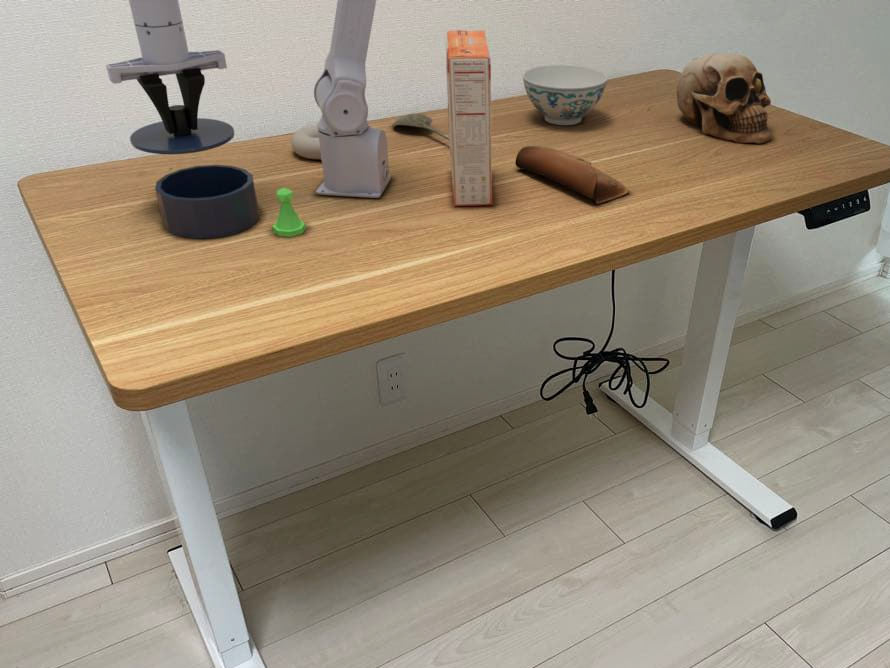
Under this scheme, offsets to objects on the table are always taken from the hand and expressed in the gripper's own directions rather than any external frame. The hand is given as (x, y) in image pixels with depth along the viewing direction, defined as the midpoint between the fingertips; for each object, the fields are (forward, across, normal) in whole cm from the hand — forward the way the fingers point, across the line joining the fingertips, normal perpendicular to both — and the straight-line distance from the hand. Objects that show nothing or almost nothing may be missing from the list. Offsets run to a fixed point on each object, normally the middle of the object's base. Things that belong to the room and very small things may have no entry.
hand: (182, 129), depth 115 cm
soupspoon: (+11, -42, -5) cm, 43 cm away
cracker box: (+11, -36, +16) cm, 41 cm away
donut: (+11, -24, -10) cm, 28 cm away
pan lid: (+1, 0, 0) cm, 1 cm away
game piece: (+11, -7, +16) cm, 20 cm away
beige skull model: (+10, -90, +16) cm, 92 cm away
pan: (+10, 0, +7) cm, 12 cm away
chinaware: (+11, -68, -3) cm, 68 cm away
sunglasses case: (+11, -50, +22) cm, 56 cm away
